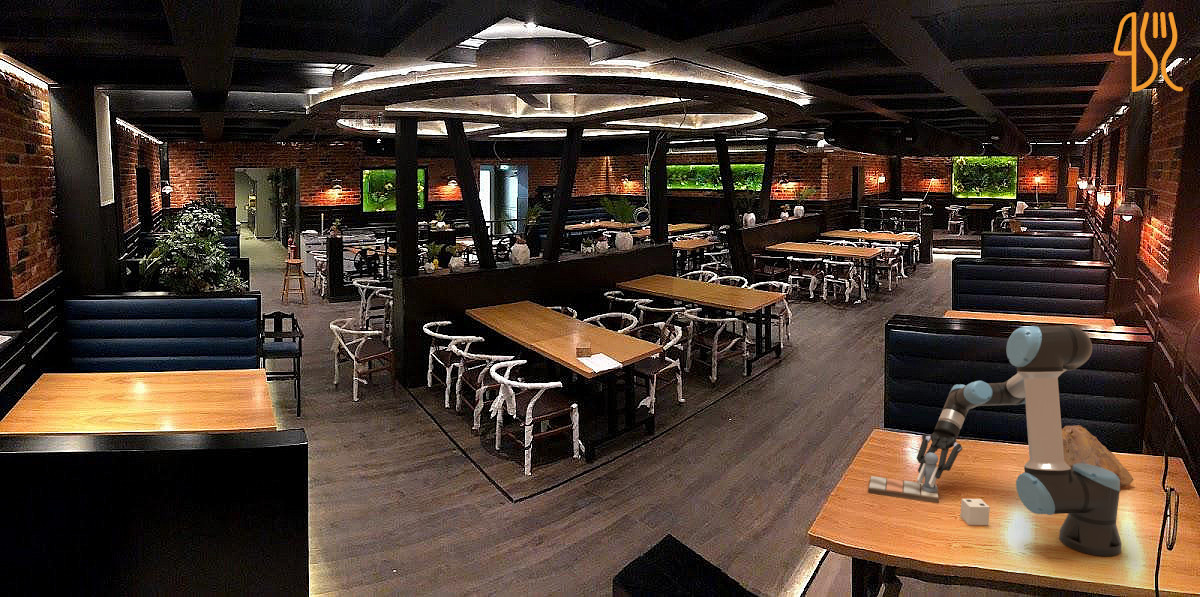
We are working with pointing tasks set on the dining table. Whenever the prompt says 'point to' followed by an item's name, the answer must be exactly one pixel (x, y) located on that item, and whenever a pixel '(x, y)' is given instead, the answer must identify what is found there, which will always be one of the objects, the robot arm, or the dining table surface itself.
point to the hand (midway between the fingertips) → (924, 483)
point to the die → (975, 511)
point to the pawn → (929, 472)
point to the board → (901, 489)
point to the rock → (1091, 452)
